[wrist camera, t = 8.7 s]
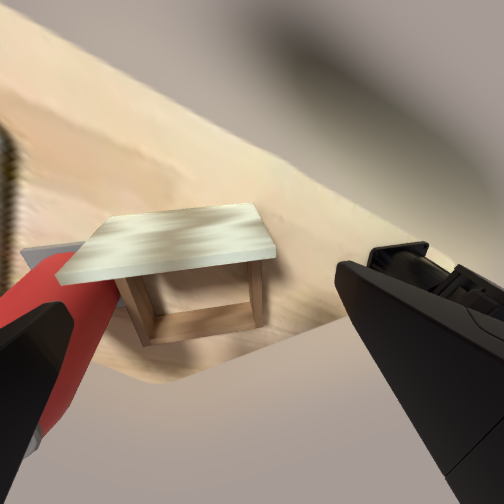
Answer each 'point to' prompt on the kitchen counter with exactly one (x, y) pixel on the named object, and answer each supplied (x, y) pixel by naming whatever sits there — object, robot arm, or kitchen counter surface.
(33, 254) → the plate
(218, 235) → the drawer
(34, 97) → the kitchen counter surface
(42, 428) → the beer can
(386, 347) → the robot arm
